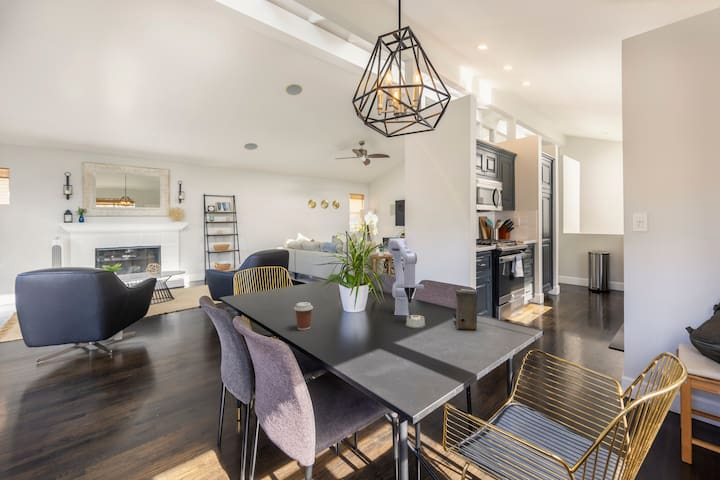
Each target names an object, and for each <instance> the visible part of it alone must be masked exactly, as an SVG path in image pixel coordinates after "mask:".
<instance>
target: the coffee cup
mask: <svg viewBox="0 0 720 480" xmlns="http://www.w3.org/2000/svg"><path fill="white" fill-rule="evenodd" d="M293 309H294V311H295V319H296V327H297V330H300V331H303V330H304V331H305V330H308V329H311V324H312V310H313V309H314V306H313V305H312V304H311V303H310V302H307V301H302V302H297V303H296V304H295V306H294V307H293Z"/></svg>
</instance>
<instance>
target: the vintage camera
mask: <svg viewBox="0 0 720 480" xmlns="http://www.w3.org/2000/svg"><path fill="white" fill-rule="evenodd" d="M455 298H456V301H455V303H456V304H455V305H456V312H455V313H452V315H453V318H454V319H455V320H456V321H455V324H456V325H455V326H456V329H457V330H467V331H468V330H471V331H473V330H474V331H477V329H478V290H477V289H476V288H474V289H472V288H471V289H465V288H461V289H460V288H457V289H456V291H455Z"/></svg>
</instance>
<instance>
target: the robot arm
mask: <svg viewBox="0 0 720 480" xmlns="http://www.w3.org/2000/svg"><path fill="white" fill-rule="evenodd" d="M407 244H408V243H407V239H406V238H405V237H399V238H398V237H397V238H391V237H390V238H389V239H388V241H387V246H388V252H389V253H388V254H390V255H391V256H392V259H393V260H392V261H393V268H394V274H395V282H394V283H393V284H392V286H391V288H392V289H391V295H392V298H394V299H395V300H394V313H393V315H395V316H406V317H407V316H409V315H410V313H409V312H410V311H409V303H411V302H412V298H413V296H414V294H415V289H418V290H419V289H420V290H424V289H425V287H424V286H425V285H424V284H421V283H420V284H419V283H416V264H417V262H418V256H417V253H416V252H412V250H411V249H410V247H408V246H407Z"/></svg>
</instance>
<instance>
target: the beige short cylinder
mask: <svg viewBox="0 0 720 480" xmlns="http://www.w3.org/2000/svg"><path fill="white" fill-rule="evenodd" d="M411 315H412V316H411V319H421V316H422V315H420V316H418V315H419V314H411Z"/></svg>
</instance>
